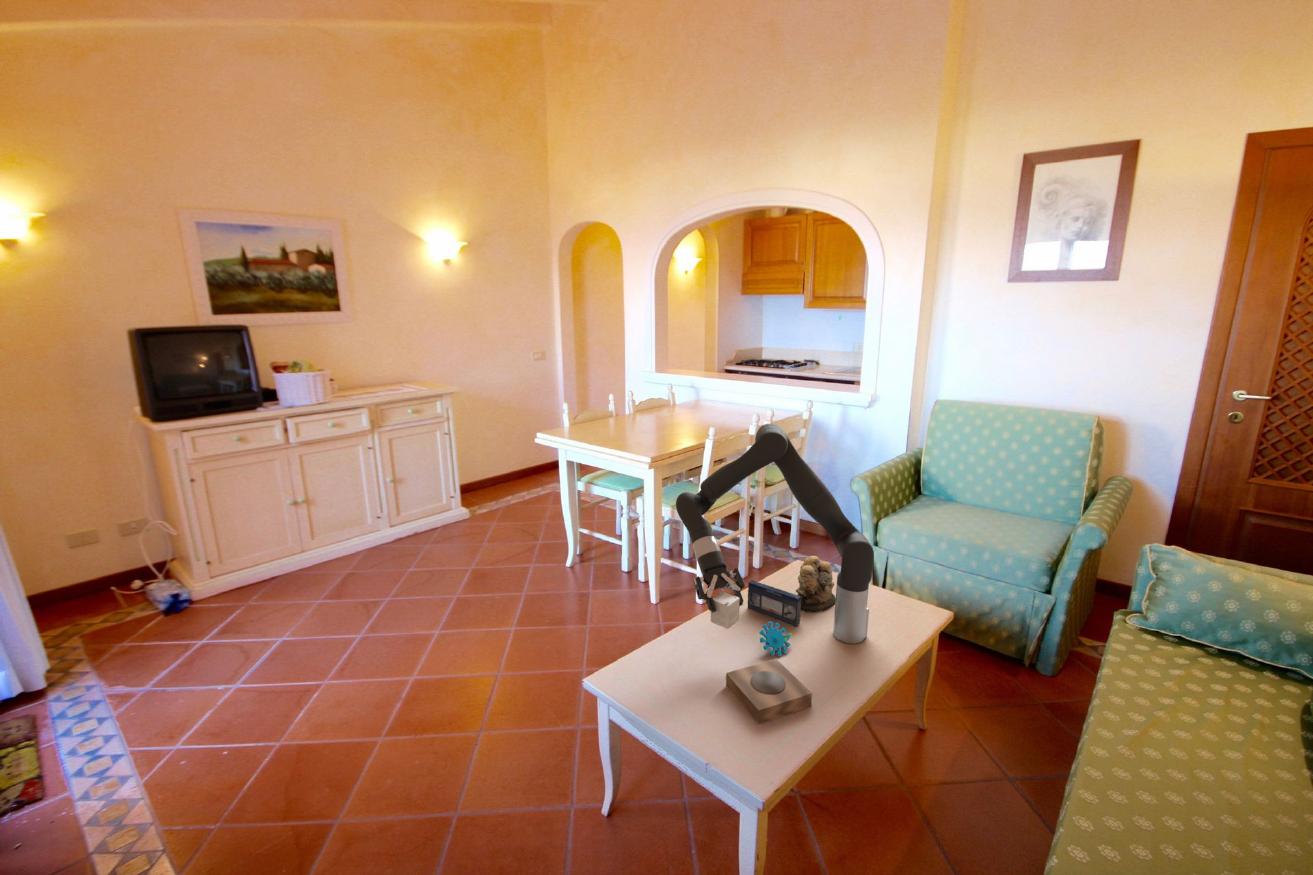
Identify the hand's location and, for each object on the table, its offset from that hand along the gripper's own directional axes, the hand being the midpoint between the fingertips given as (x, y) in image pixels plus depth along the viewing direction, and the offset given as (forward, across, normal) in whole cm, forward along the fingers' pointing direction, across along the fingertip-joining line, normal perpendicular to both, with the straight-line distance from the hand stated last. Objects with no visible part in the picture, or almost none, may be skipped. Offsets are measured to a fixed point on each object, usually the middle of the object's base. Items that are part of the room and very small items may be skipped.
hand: (727, 608), depth 164 cm
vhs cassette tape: (+1, +27, +24) cm, 36 cm away
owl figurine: (0, +45, +26) cm, 52 cm away
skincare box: (+3, 0, +4) cm, 5 cm away
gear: (+12, +17, +13) cm, 25 cm away
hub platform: (+24, +3, 0) cm, 24 cm away
